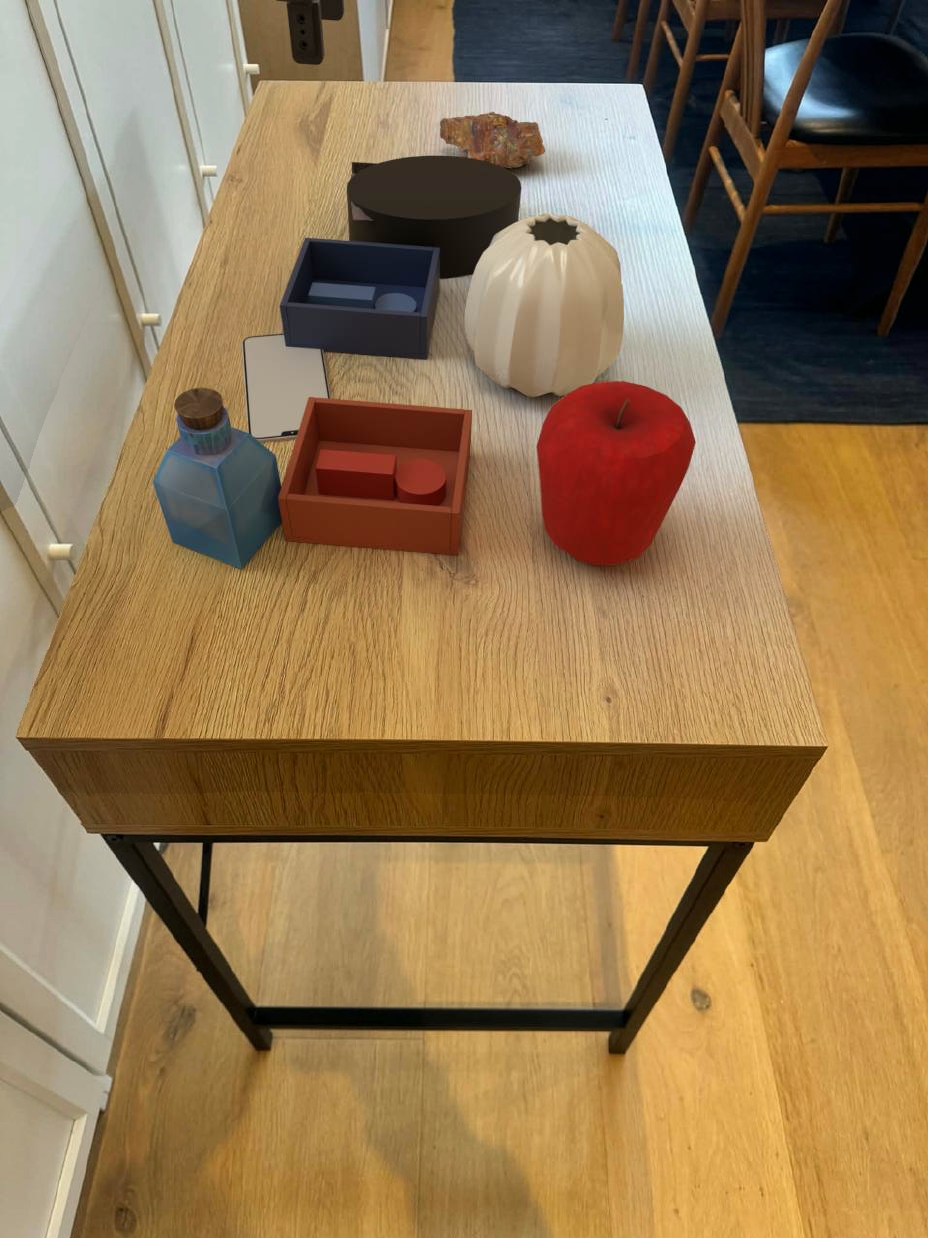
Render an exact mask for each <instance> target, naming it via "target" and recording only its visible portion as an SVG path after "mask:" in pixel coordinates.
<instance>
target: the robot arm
mask: <svg viewBox="0 0 928 1238" xmlns="http://www.w3.org/2000/svg"><path fill="white" fill-rule="evenodd" d="M275 1H276V2H283V3H286V11H287V21H288V29H289V30H288V31H289V40H290V49H291V57H292V59H293V61H294V62H295V63H297V64H299V65H310V66H311V65H313V66H319V65H321V64H322V63H323V61H324V58H325V44H324V43H325V42H324V30H323V21H335V22H336V21H337V22H338V21H341V20H342V18H343V16H344V14H345V2H344V1H345V0H275Z"/></svg>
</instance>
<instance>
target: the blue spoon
mask: <svg viewBox="0 0 928 1238" xmlns="http://www.w3.org/2000/svg"><path fill="white" fill-rule="evenodd" d="M308 298H309V304H316V305H329V306H342V307H354V308H367V309H380V310H393V311H406V312H417V303H416V301H415V300H414V299H413V298H412V297H410V296H408V295H405V294H401V293H390V294H386V295H383V296H381V297H379V298H378V299H377V300H376V287H367V286H354V285H341V284H328V283H314V282H313V283H312V286H311V288H310V291H309V294H308Z"/></svg>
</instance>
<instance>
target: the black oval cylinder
mask: <svg viewBox="0 0 928 1238" xmlns="http://www.w3.org/2000/svg"><path fill="white" fill-rule="evenodd" d="M350 162H351V174H350V179H349V180H348V182H347V183H346V202H347V221H348V238H349V240H348V241H358V242H371V243H384V244H397V245H411V246H424V247H438V248H440V279H449V278H458V277H464V276H470V275H473V274H474V271H475V268H476V265H477V263H478V261H479V259H480V257H481V255H482V254H483V252H484V251H485V250H486V249H487V248H488V247H489V245H490V243H491V241H492V239H493V237H494V235H495V234H496V233H498V232H500V231H501V230H503V229H505V228H506V227H508V226H510V225H512V224H513V223H516V222H518V221H519V217H520V207H521V198H522V197H521V196H522V183H521V180H520V179H519V178H518V175H516V174H514V173H513V172H512V171H511V170H509V169H508V168H503V167H501V166H499V165H496V164H493V163H490V162H486V161H482V160H478V159H473V158H468V157H465V156H459V155H458V156H457V155H454V156H453V155H417V156H407V157H399V158H393V159H388V160H386V161H385V160H384V161H381V162H361V161H360V162H359V161H350Z"/></svg>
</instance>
